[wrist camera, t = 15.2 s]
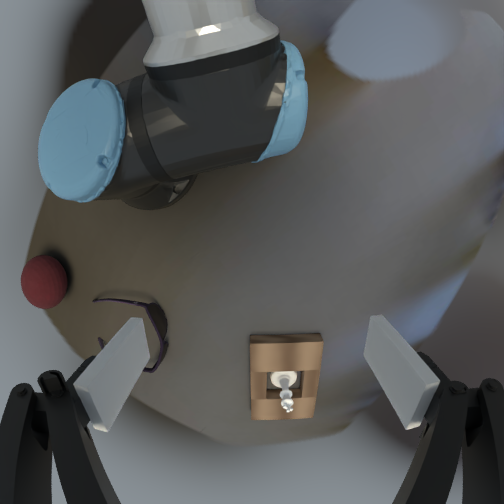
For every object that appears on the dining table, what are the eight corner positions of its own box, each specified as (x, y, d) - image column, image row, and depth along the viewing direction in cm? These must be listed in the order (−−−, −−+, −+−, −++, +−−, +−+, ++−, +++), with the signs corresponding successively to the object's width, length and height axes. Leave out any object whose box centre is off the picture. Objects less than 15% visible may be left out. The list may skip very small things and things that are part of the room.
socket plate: (251, 410, 49) (251, 420, 46) (250, 335, 46) (250, 343, 43) (310, 407, 49) (312, 417, 46) (319, 333, 46) (323, 341, 43)
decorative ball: (45, 243, 44) (12, 252, 34) (80, 261, 44) (47, 275, 34) (41, 286, 45) (11, 301, 36) (74, 306, 46) (45, 326, 36)
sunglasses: (172, 364, 48) (164, 378, 43) (101, 350, 48) (90, 361, 43) (168, 298, 45) (158, 308, 40) (92, 287, 45) (78, 296, 40)
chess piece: (280, 361, 47) (284, 396, 37) (302, 372, 47) (310, 406, 37) (265, 379, 48) (266, 415, 38) (286, 389, 48) (291, 424, 38)
